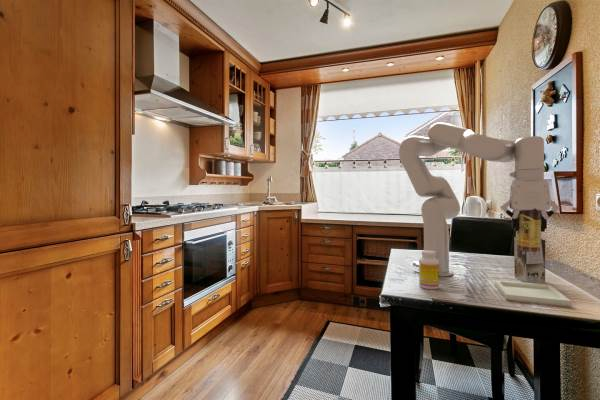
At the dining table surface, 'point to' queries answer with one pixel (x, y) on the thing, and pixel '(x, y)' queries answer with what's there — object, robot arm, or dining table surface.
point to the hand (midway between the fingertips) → (528, 230)
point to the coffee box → (530, 264)
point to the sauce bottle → (529, 230)
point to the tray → (531, 293)
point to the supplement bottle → (429, 270)
